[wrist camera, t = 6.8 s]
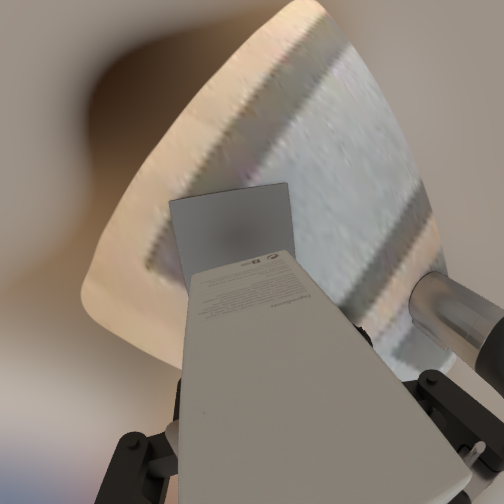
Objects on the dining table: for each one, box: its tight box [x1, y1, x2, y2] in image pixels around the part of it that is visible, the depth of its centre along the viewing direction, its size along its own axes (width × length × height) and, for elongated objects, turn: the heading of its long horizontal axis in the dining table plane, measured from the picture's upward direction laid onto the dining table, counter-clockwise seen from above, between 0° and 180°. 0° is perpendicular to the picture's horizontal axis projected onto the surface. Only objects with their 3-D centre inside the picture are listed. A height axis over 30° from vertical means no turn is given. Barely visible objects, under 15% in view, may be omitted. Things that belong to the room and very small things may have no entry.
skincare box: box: [178, 250, 473, 504], centre depth 10 cm, size 8×6×15 cm
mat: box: [169, 183, 296, 296], centre depth 34 cm, size 14×14×1 cm
